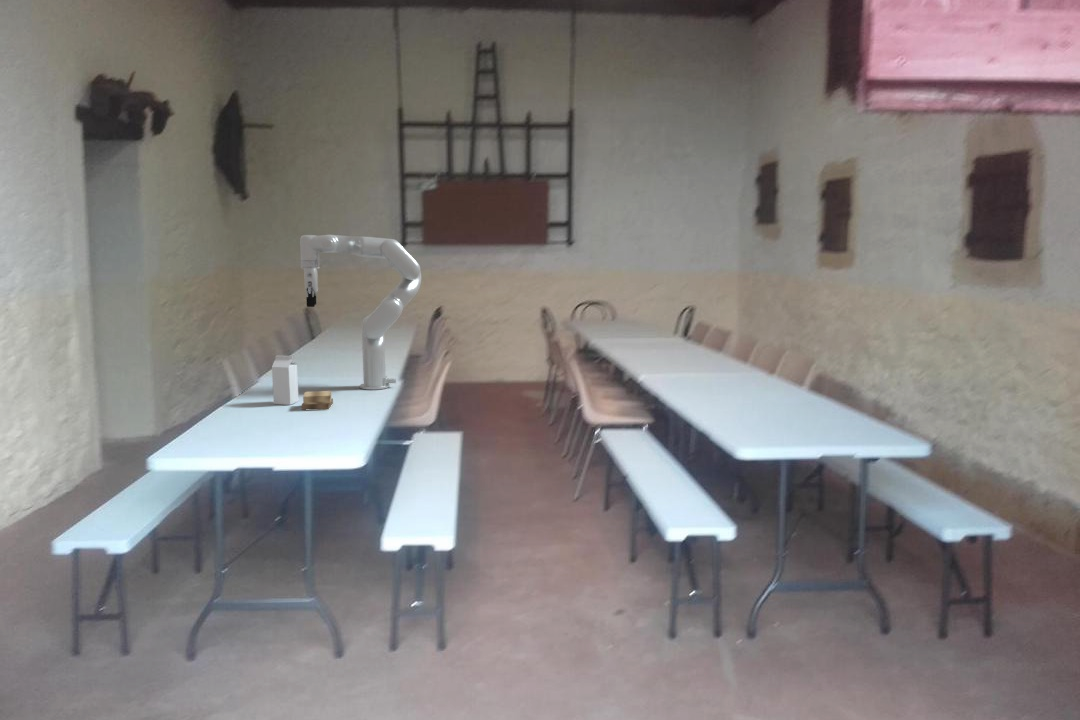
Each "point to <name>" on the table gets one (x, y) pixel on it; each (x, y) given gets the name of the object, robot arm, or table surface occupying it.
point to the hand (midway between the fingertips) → (311, 305)
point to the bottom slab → (317, 406)
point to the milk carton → (285, 380)
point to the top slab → (317, 397)
